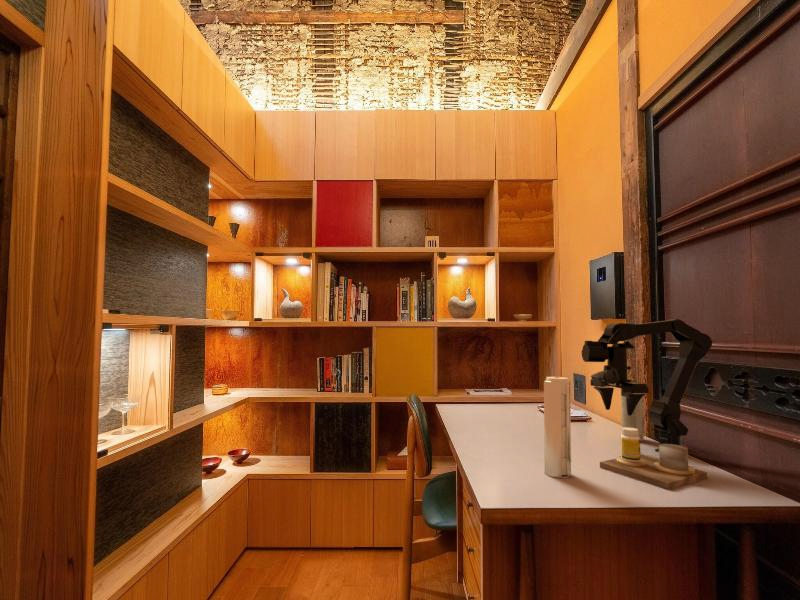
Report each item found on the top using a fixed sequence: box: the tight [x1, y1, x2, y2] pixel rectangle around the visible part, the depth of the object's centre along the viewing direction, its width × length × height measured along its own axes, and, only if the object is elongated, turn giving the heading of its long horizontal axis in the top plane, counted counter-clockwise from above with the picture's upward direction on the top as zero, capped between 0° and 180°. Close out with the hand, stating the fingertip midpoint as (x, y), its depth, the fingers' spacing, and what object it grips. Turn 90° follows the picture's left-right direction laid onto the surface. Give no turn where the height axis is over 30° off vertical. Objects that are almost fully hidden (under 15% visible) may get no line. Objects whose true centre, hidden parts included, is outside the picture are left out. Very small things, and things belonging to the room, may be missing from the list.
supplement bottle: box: [620, 427, 641, 462], centre depth 116 cm, size 5×5×8 cm
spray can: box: [620, 380, 645, 442], centre depth 148 cm, size 7×7×20 cm
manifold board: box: [599, 443, 708, 490], centre depth 112 cm, size 18×18×7 cm
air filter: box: [543, 376, 572, 479], centre depth 110 cm, size 6×6×25 cm
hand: (618, 412), depth 133 cm, fingers open, 9 cm apart
